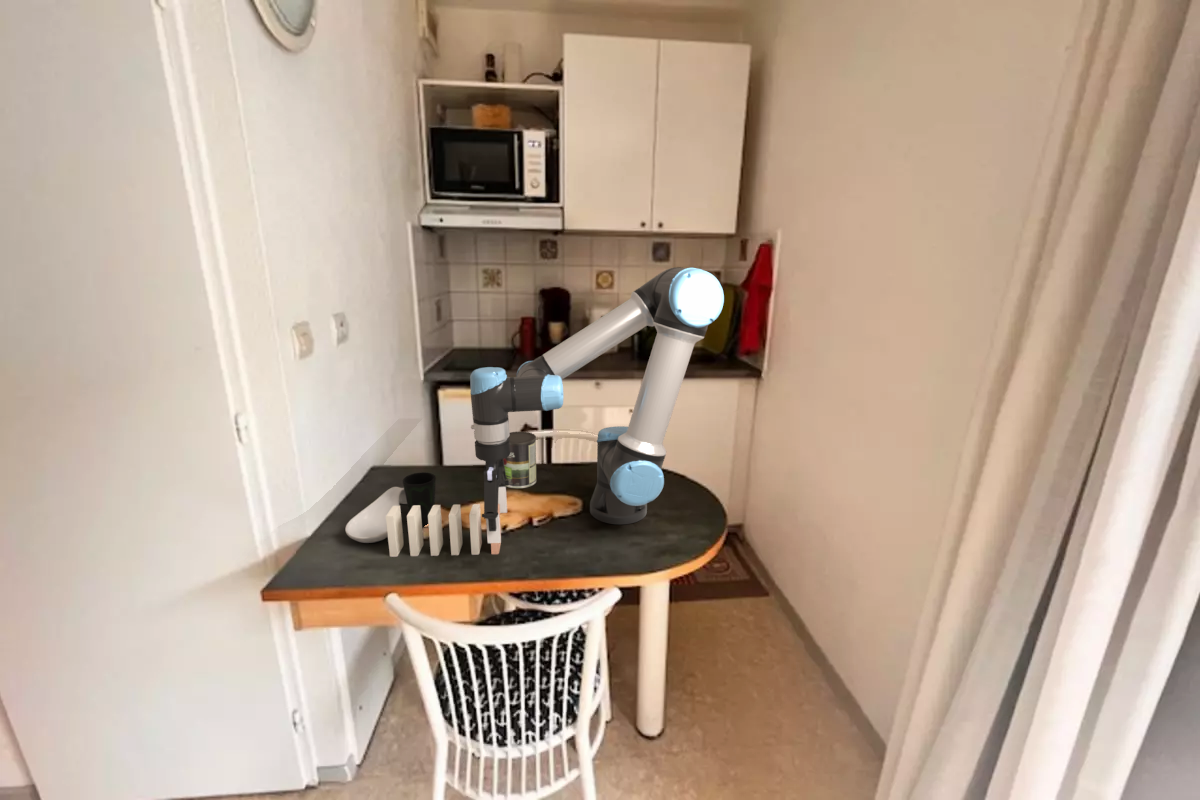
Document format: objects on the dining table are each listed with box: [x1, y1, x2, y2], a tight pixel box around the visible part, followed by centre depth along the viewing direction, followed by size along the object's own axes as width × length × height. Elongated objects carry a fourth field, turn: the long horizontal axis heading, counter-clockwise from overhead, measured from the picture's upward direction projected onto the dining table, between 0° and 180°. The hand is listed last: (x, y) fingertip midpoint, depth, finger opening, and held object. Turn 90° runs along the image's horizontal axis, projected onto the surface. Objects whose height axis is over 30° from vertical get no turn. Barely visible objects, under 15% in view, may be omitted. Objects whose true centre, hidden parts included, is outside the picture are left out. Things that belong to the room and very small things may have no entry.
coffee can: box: [503, 431, 537, 489], centre depth 155 cm, size 10×10×14 cm
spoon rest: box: [344, 486, 407, 544], centre depth 130 cm, size 24×12×7 cm, turn 174°
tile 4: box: [406, 505, 424, 557], centre depth 118 cm, size 2×5×10 cm, turn 4°
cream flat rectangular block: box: [386, 505, 405, 558], centre depth 118 cm, size 2×5×10 cm, turn 4°
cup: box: [402, 471, 436, 529], centre depth 130 cm, size 8×8×12 cm
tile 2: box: [448, 504, 464, 556], centre depth 119 cm, size 2×5×10 cm, turn 4°
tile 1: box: [468, 503, 483, 556], centre depth 119 cm, size 2×5×10 cm, turn 4°
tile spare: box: [490, 504, 502, 555], centre depth 119 cm, size 2×5×10 cm, turn 4°
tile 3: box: [428, 504, 444, 557], centre depth 119 cm, size 2×5×10 cm, turn 4°
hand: (498, 526), depth 119 cm, fingers open, 13 cm apart
